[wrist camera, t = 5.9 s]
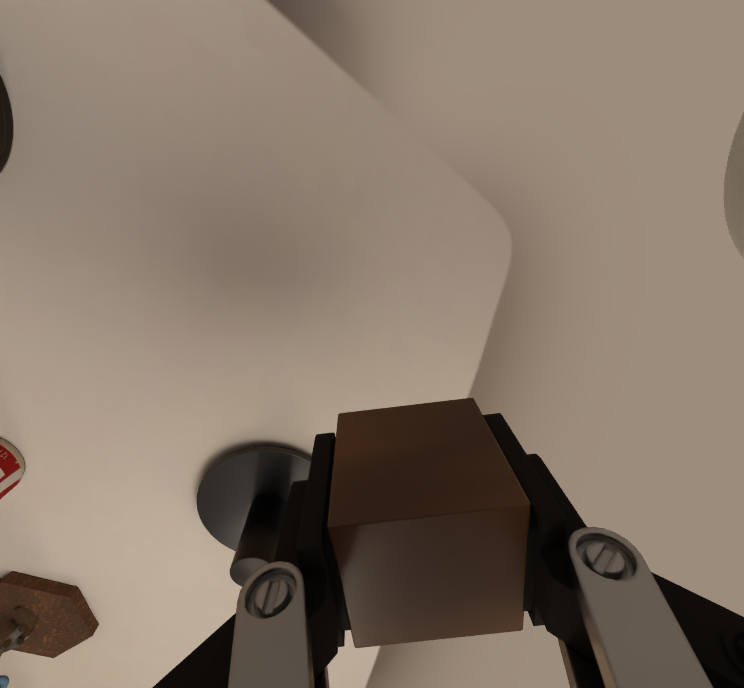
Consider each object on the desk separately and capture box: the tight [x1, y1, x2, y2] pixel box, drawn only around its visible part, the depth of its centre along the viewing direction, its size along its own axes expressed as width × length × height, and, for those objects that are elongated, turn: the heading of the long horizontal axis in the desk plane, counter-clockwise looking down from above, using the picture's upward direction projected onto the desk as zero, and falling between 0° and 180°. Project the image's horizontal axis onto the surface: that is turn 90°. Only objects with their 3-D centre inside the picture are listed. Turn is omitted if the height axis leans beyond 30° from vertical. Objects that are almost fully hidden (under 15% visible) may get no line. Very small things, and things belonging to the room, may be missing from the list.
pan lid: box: [197, 447, 312, 587], centre depth 28 cm, size 11×11×7 cm
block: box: [327, 398, 530, 648], centre depth 10 cm, size 4×4×4 cm
